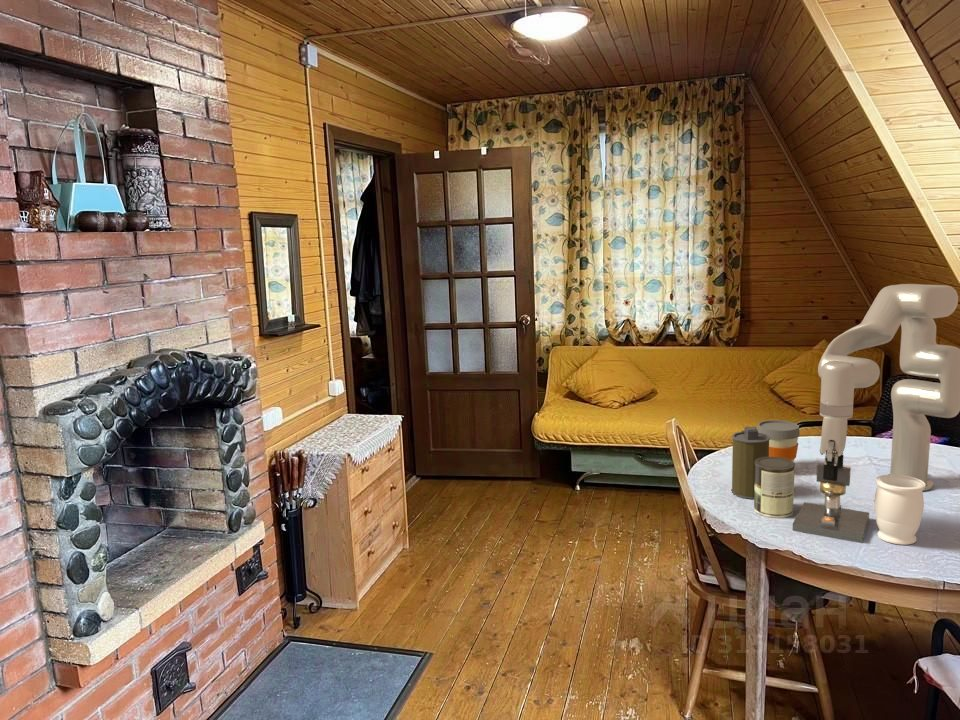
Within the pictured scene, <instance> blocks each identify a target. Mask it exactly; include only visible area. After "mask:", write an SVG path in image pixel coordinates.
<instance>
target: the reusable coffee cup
mask: <svg viewBox="0 0 960 720" xmlns="http://www.w3.org/2000/svg"><path fill="white" fill-rule="evenodd" d="M756 428H757V429H758V432H759V433H763V434H766V435H768V436H769V437H770V440H769V457H780V458H786V459H789V460H791V461H793V462H794V463H795V459H796V458H797V454H798V450H799V449H798V448H799V443H798V441H799V437H800V426H799V425H798V424H797V423H794V422H792V421H787V420H780V419H777V420H776V419H769V420H763V421H760V422H758V424H757V427H756Z"/></svg>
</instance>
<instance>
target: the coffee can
mask: <svg viewBox="0 0 960 720" xmlns="http://www.w3.org/2000/svg"><path fill="white" fill-rule="evenodd" d="M795 468H796V463H795V461H794V462H793V461H791V460H789V459H786V458H780V457H762V458H758V459H756V460H755V489H754V499H753V511H754V512H755V513H756V512H757V513H756V514H758V515H760V516H763V517H766V518H772V519H783V518H788V517H789V518H790V517H792V516H793V515H794V500H795V499H794V494H795Z"/></svg>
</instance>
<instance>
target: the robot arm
mask: <svg viewBox="0 0 960 720" xmlns="http://www.w3.org/2000/svg"><path fill="white" fill-rule="evenodd" d="M958 303H959V296H958V292H957V290H956V289H955V288H954V287H952V286H950V285H944V284H921V283H919V284H918V283H900V284H891V285H888V286H885V287H883V288H882V289H880V290H879V292H878V293H877V295H876V297H874V300H873V302H872V304H871V305H870V307H869V309H868V310H867V312H866V314H865V315H864V318H863V319H862V321H861V322H860V323H859V324H858V325H855V326H853V327H851V328H849V329H847V330H845V331H844V332H843V333H841V334H839V335H838V336H836V337H835V338H833V340H832V341H830V343H829V344H828V346H827V347H826V349H825V350H824V352H823V354H822V355H821V358H820V359H819V363H818V366H817V374H818V377H819V378H820V379H821V382H820V399H819V400H820V402H819V415H820V416H821V417H823V419H822V425H821V435H820V437H821V438H820V446H819V447H820V449H819V455H821V456H823V455H824V462H823V464H824V470H823V479H825V480H832V481H837V476H838V466H843V467H844V451H845V448H846V442H847V433H848V419H852V418H853V413H854V396H855V389H866V388H868V387H871V386H873V385H875V384H876V383H877V382H878V380H879V378H880V373H881V370H880V366H879V365H878V363H877V362H876V361H874V360H872V359H869V358H864V357H855V356H849V355H850V354H852V353H854V352H857V351H860V350H864V349H869V348H873V347H877V346H880V345H885V344H888V343H889V342H891V341H892V339H894V336H896V335H895V334H897V331H898V330H899V328H900V327H901V336H900V351H899V367H900V370H901V372H903V373H904V374H906V375H911V376H916V377H923V378H932V379H938V380H939V381H940V382H933V381H930V380H920V379H912V378H907V379H905V378H904V379H900V380H898V381H896V382H895V383H894V384H893V386H892V387H891V392H890V398H891V404H892V405H891V406H892V413H893V415H892V417H893V421H892V423H893V425H892V436H891V437H892V439H891V440H892V441H891V457H890V471H889V474H887V475H904V476H909V477H913V478H917V479H919V480H921V481H923V482H924V483H925V488H924V490H922V492H925V491H929V490H931V489H933V488H934V481H932V480H931V479H929V478H928V475H929V463H930V462H929V460H930V448H931V447H930V445H931V435H932V434H931V433H932V429H931V424H930V423H929V420H928V419H927V416H929V417H930V416H931V417H937V418H944V419H945V418H946V419H952V418H955V417H956V416H957V415H959V413H960V348H959V347H957V346H955V345H954V346H953V345H946V344H938V343H937V341H936V340H937V324H936V322H935V320H934V319H939V318H940V319H941V318H945V317H946V318H947V317H949V316H950V315H952V314H953V313H954V312H955V310H956V309H957V307H958Z"/></svg>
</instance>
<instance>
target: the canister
mask: <svg viewBox="0 0 960 720" xmlns="http://www.w3.org/2000/svg"><path fill="white" fill-rule="evenodd" d="M757 428H758V427H757V426H755V425H754V426H744V429H743V430H741V431H738V432H735V433H733V434H732V435H731V437H732V456H731V457H732V459H731V460H732V461H731V462H732V465H731V466H732V467H731V469H732V471H731V473H732V474H731V489H730V492H731V491H732V492H731V494H732V493H733V494H732V495H733V496H735V495H736V497H738V496H739V497H738V498H740V497H742V499H745V500H754V489H755V460H756V459H758V458H762V457H769V440H770V437H769V436H768V435H766V434H763V433H759V432H758V429H757Z"/></svg>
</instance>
